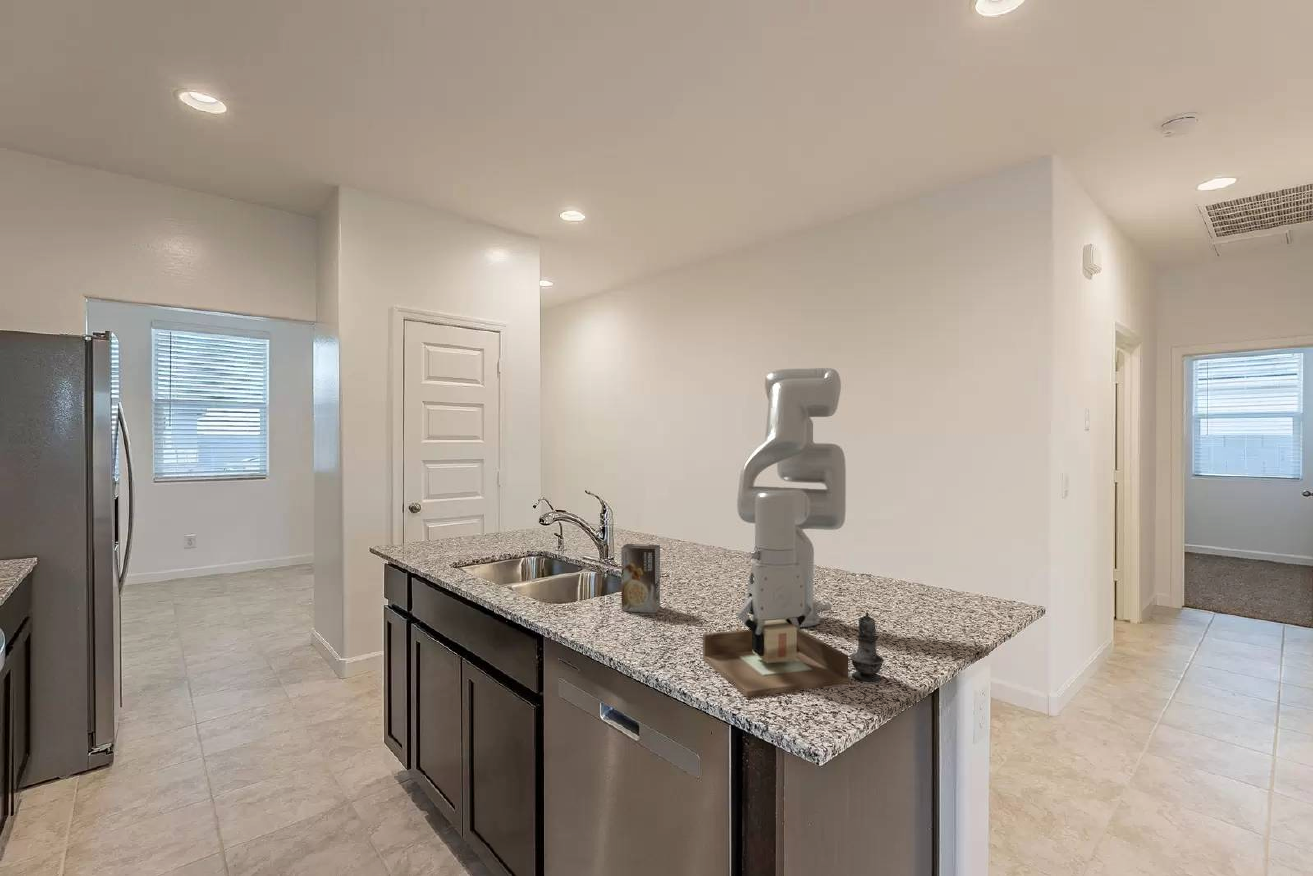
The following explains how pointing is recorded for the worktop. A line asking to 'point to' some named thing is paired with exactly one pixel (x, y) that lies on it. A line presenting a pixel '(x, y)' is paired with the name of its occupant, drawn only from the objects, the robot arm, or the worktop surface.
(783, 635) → the maple cube
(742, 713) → the worktop surface
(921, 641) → the worktop surface
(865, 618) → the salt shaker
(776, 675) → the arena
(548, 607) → the worktop surface
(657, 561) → the coffee box
